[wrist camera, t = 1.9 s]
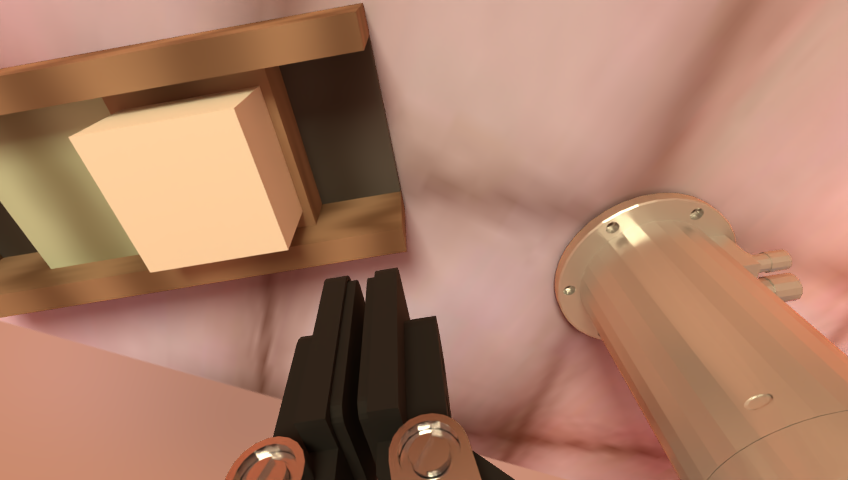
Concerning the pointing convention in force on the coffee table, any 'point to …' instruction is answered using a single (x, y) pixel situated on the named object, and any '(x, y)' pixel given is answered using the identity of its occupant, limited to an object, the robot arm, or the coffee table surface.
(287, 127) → the box
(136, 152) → the cream block
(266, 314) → the coffee table surface
